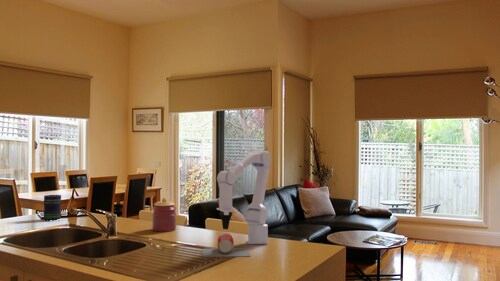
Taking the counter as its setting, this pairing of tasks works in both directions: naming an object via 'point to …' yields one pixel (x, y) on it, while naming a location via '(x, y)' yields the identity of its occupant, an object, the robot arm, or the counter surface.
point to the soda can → (225, 243)
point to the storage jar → (52, 207)
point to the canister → (164, 216)
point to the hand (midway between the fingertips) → (225, 229)
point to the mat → (233, 253)
